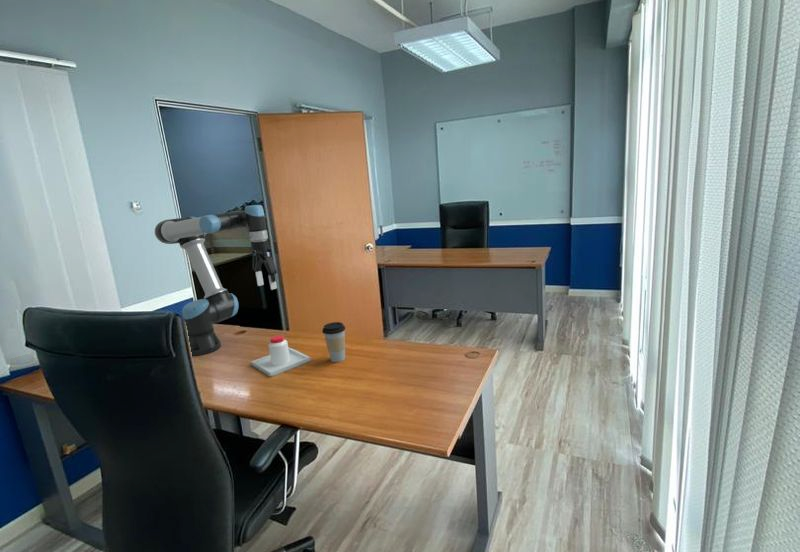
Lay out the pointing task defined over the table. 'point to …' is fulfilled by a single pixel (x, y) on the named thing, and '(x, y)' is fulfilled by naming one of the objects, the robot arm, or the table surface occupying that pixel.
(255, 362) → the tray
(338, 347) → the coffee cup
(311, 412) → the table surface
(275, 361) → the pill bottle
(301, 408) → the table surface
